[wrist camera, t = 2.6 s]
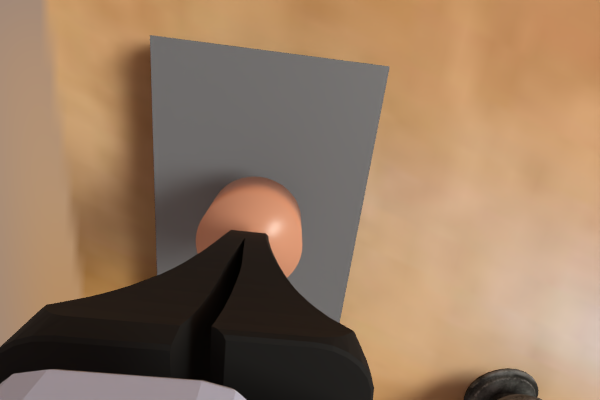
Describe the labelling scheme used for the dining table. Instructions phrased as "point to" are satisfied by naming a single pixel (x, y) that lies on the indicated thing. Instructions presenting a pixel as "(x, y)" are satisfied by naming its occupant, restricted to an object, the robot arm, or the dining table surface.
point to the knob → (256, 218)
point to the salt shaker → (503, 386)
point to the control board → (264, 147)
